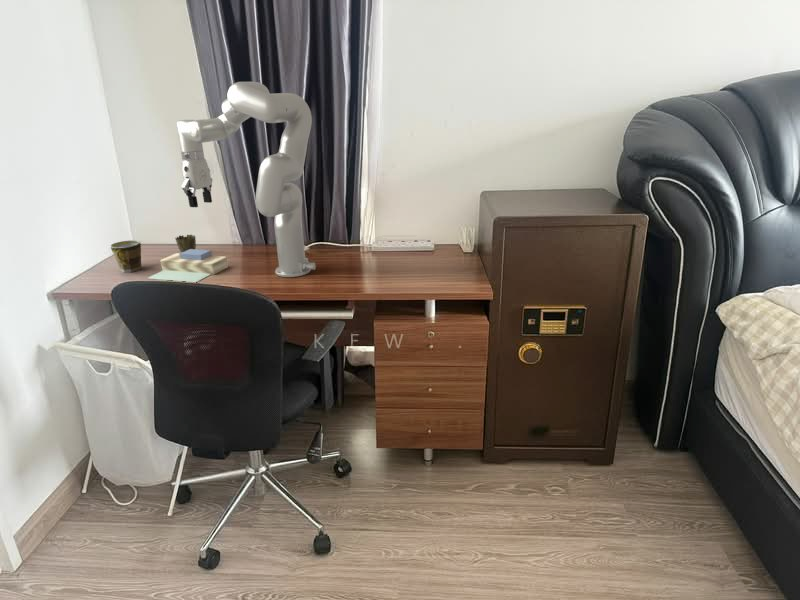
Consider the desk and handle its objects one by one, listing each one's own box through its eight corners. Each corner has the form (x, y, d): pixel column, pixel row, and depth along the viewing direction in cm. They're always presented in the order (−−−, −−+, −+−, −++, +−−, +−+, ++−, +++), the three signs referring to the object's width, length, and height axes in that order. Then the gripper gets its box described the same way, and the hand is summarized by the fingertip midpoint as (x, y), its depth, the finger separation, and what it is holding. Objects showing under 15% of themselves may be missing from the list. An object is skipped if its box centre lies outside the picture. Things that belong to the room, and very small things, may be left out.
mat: (211, 274, 187) (211, 273, 187) (195, 283, 179) (195, 282, 179) (164, 270, 192) (164, 269, 192) (147, 278, 184) (147, 278, 184)
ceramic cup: (123, 266, 199) (116, 240, 195) (149, 264, 199) (144, 239, 196) (108, 277, 187) (101, 250, 183) (137, 276, 187) (131, 249, 184)
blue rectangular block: (211, 255, 195) (210, 250, 194) (201, 260, 189) (200, 255, 189) (190, 254, 197) (189, 249, 196) (180, 258, 192) (179, 253, 191)
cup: (198, 252, 213) (195, 233, 210) (198, 257, 207) (194, 237, 204) (179, 254, 211) (175, 235, 208) (178, 259, 205) (174, 239, 202)
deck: (228, 266, 194) (226, 256, 193) (213, 274, 186) (211, 264, 185) (178, 263, 200) (176, 253, 199) (162, 270, 192) (160, 260, 191)
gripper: (186, 159, 178) (195, 210, 185) (216, 153, 194) (223, 200, 200) (167, 159, 180) (177, 209, 187) (199, 153, 196) (206, 199, 202)
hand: (201, 204), depth 193 cm, fingers open, 7 cm apart
